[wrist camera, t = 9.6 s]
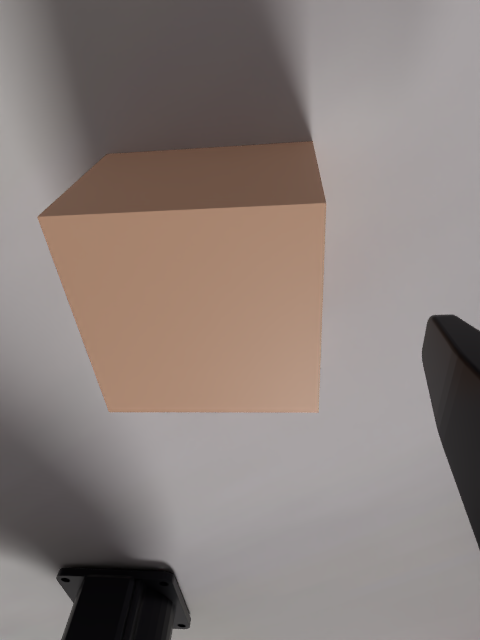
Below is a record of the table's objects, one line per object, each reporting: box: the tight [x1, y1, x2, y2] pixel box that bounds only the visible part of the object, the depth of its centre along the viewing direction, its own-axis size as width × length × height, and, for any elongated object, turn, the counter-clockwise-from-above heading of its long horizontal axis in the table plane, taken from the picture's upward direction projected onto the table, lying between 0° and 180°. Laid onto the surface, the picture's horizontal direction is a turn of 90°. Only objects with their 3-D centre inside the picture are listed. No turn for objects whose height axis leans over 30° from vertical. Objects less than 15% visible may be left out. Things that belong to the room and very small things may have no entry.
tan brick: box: [38, 141, 326, 413], centre depth 11 cm, size 5×5×4 cm
